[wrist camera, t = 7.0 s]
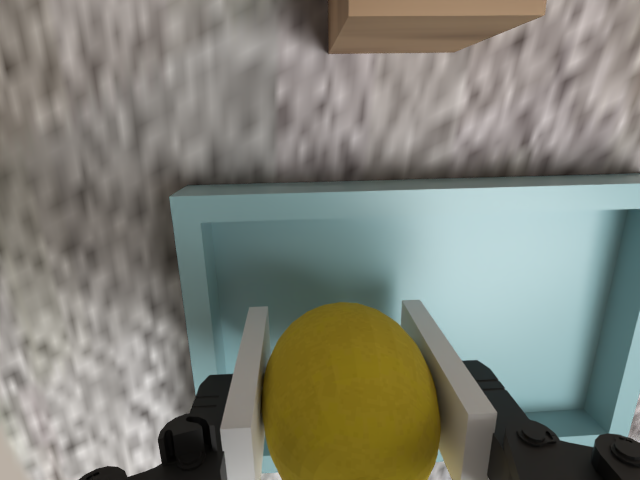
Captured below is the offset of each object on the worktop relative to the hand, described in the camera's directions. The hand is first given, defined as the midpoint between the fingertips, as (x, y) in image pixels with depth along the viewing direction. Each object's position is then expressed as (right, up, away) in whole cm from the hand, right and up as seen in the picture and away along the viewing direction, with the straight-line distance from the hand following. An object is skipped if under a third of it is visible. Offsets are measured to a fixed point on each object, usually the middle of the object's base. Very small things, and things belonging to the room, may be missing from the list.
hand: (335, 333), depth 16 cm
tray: (+4, 0, +3) cm, 5 cm away
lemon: (0, 0, 0) cm, 1 cm away
